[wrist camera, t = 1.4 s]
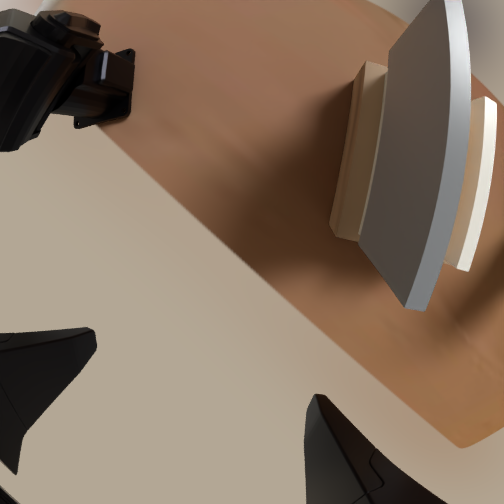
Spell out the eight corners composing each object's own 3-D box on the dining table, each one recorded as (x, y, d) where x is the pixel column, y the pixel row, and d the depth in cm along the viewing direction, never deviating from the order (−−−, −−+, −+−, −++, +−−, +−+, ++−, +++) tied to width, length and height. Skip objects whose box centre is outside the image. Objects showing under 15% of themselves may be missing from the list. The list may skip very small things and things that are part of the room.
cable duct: (358, 233, 15) (370, 247, 13) (385, 73, 12) (401, 55, 10) (445, 255, 15) (468, 271, 12) (471, 110, 12) (496, 103, 9)
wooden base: (328, 224, 19) (336, 237, 16) (353, 79, 16) (366, 60, 12) (433, 250, 19) (456, 266, 15) (457, 118, 15) (484, 111, 11)
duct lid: (371, 247, 13) (357, 244, 13) (401, 55, 9) (388, 51, 10) (424, 311, 6) (404, 308, 6) (460, -5, 3) (441, -15, 3)
